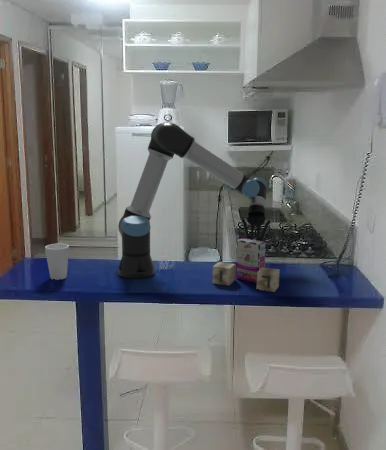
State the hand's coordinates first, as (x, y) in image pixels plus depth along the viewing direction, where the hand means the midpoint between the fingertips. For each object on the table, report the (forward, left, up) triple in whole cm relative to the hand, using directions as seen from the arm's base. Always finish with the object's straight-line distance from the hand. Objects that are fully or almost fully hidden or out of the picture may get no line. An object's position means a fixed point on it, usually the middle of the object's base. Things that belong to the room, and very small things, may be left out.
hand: (253, 254), depth 205 cm
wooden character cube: (-7, -16, -8) cm, 20 cm away
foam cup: (-70, -39, -9) cm, 81 cm away
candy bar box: (+1, -9, -9) cm, 13 cm away
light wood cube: (+11, -16, -8) cm, 21 cm away
